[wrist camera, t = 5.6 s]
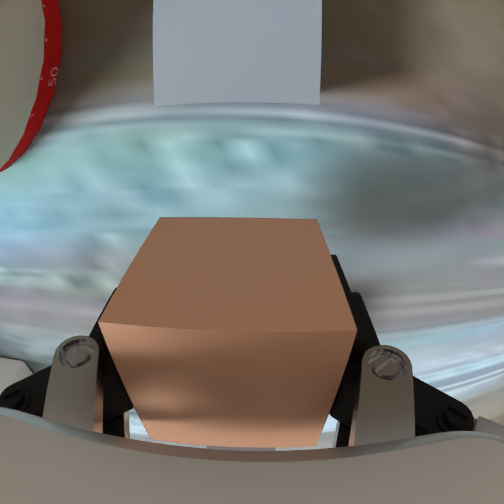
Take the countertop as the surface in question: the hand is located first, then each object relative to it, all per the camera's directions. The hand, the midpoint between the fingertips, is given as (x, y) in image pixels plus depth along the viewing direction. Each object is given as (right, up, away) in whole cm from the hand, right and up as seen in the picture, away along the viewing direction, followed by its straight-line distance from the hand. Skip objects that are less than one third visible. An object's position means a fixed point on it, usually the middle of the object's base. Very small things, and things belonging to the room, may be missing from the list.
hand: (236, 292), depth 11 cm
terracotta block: (0, 0, 0) cm, 1 cm away
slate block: (0, +11, +1) cm, 11 cm away
